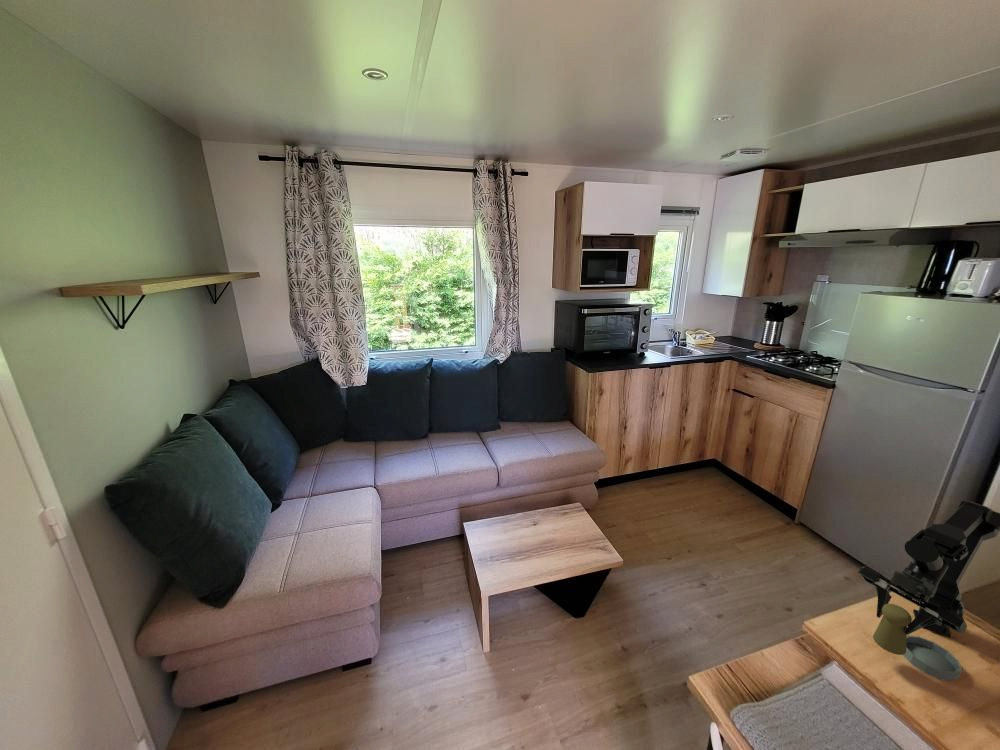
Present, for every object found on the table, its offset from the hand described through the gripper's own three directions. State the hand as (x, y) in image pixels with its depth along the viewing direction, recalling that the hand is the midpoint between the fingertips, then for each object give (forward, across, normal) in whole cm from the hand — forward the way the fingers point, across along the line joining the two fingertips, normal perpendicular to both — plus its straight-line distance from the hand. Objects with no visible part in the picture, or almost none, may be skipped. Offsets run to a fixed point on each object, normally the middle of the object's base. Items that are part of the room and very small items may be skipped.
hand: (891, 625), depth 94 cm
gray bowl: (+1, +5, +17) cm, 18 cm away
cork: (+4, 0, +6) cm, 7 cm away
